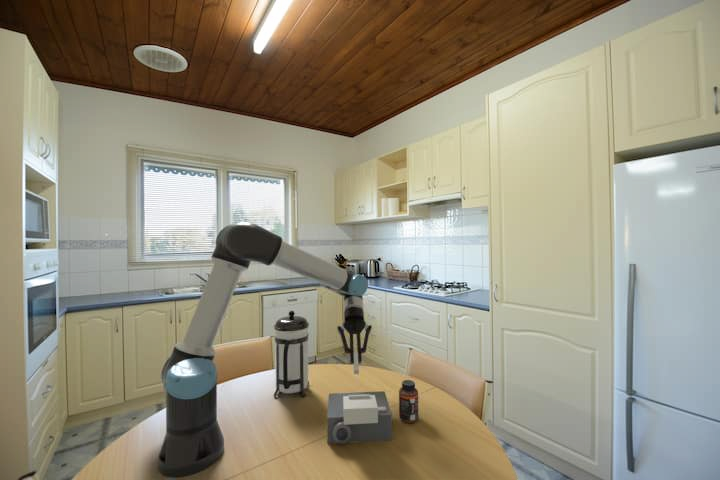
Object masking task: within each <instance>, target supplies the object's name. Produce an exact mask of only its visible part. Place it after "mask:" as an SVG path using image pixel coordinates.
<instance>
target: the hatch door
mask: <svg viewBox="0 0 720 480" xmlns="http://www.w3.org/2000/svg"><path fill="white" fill-rule="evenodd" d="M343 414H344V425H346V424H365V423H378V407H377V403H376V398H375V395H370V394H362V395H349V396H343Z"/></svg>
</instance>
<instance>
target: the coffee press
mask: <svg viewBox="0 0 720 480" xmlns="http://www.w3.org/2000/svg"><path fill="white" fill-rule="evenodd" d="M309 326H310V323H309V322H308V320H307V319H306V318H305V317H304V316H299V315H296V314H295V311H294V310H289V312H288V316H284V317H281V318H278V320H276V322H275V324H274V326H273V328H274V331H275V332H274V342H275V343H274V344H275V345H274V346H275V348H274V352H275V353H274V354H275V356H274V358H275V359H274V363H275V366H274V367H275V369H274V370H275V372H274V375H275V388H276V389H275V392H274V394H273V397H274V398H276V399H279V397H280V396H281V394H282V393H283V394H296V393H298V394H299V397H301V398H304V397H306V396H307V395H306V391H305V389H306V388H307V387H308V386H309V384H310V381H309V338H310V337H309V336H310V335H309Z"/></svg>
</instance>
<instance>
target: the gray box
mask: <svg viewBox="0 0 720 480" xmlns="http://www.w3.org/2000/svg"><path fill="white" fill-rule="evenodd" d="M362 394H370V395H375V398H376V403H377V407H378V423H365V424H346V425H344V414H343V396H349V395H362ZM326 416H327V417H326V418H327V419H326V425H327V427H326V429H327V430H326V433H327V434H326V435H327V437H326V438H327V441H326V442H327V444H346V443H359V442H360V443H362V442H380V441H381V442H382V441H393V415H392V410H391V407H390V405H389V401H388V399H387V395H386V392H385V391H383V390H382V391H359V392H339V393H338V392H337V393H336V392H335V393H328V400H327V415H326Z"/></svg>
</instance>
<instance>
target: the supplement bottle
mask: <svg viewBox="0 0 720 480" xmlns="http://www.w3.org/2000/svg"><path fill="white" fill-rule="evenodd" d="M398 407H399V408H398V409H399V410H398V414H399V420H400V421H402V422H403V423H406V424H413V423H416V422H418V420H419V391H418V389H417V387H416V383H415V381H414V380H411V379H405V380H403V381H402V382H401V387H400V388H399V391H398Z"/></svg>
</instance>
